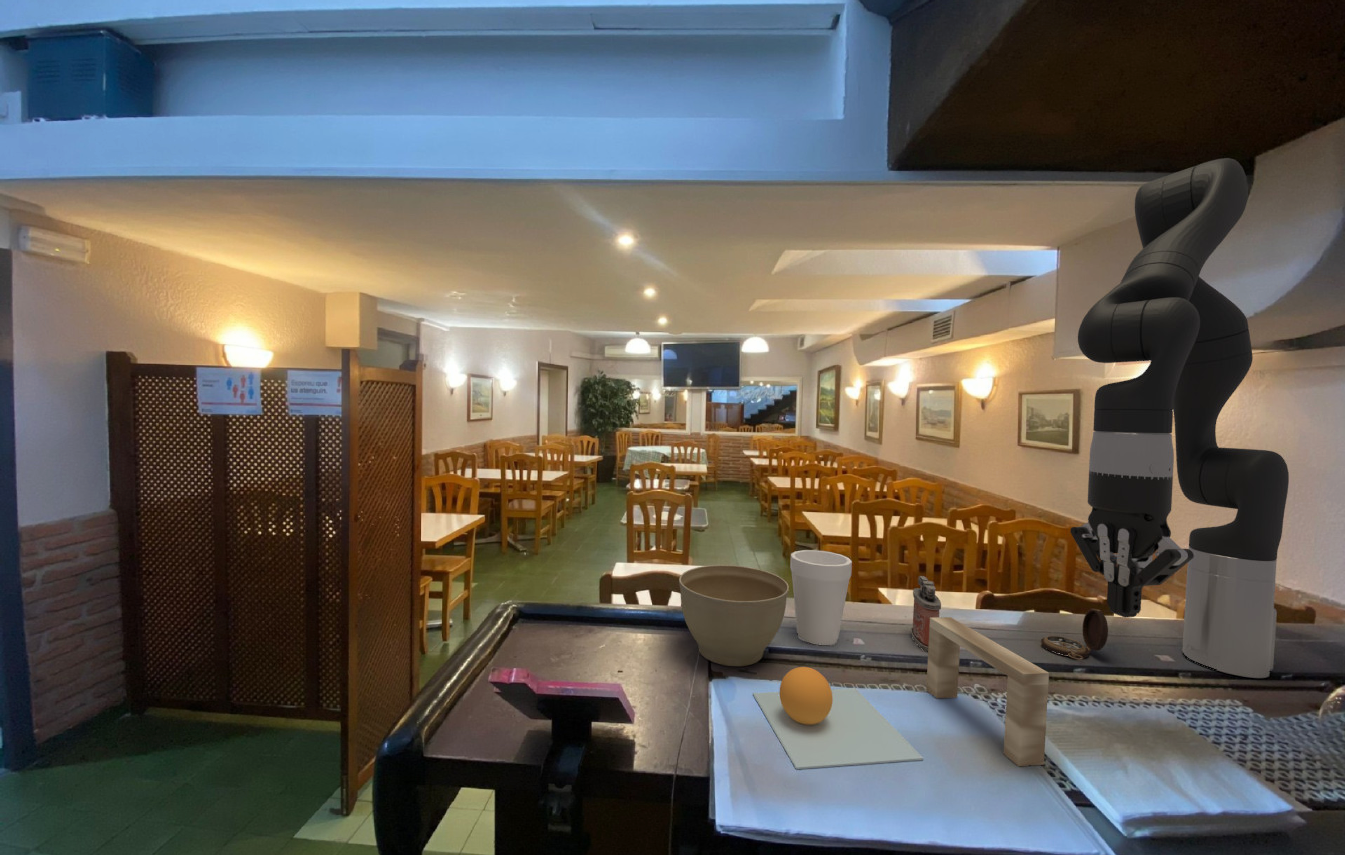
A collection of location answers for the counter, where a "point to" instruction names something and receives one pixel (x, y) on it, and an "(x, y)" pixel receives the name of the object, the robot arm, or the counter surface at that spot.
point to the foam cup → (819, 593)
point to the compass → (1092, 634)
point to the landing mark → (837, 733)
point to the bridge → (1022, 685)
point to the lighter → (924, 611)
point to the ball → (806, 695)
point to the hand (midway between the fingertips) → (1122, 614)
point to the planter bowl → (732, 611)
